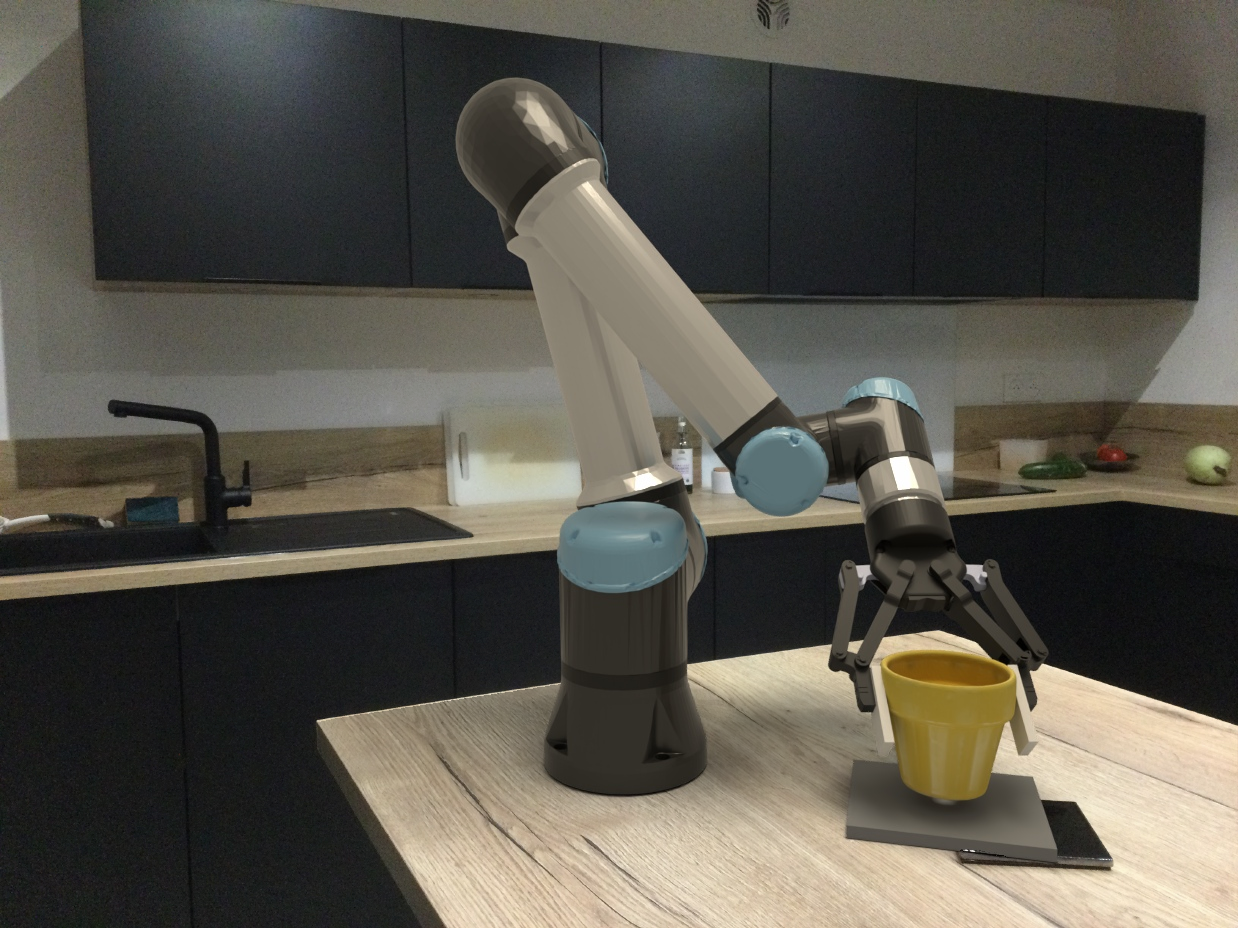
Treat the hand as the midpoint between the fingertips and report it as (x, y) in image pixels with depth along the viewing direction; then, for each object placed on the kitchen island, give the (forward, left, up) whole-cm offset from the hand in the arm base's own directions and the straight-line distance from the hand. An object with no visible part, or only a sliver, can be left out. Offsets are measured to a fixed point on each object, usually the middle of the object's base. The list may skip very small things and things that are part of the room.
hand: (957, 748), depth 75 cm
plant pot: (-1, +3, -4) cm, 5 cm away
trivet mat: (-1, +3, -6) cm, 7 cm away
